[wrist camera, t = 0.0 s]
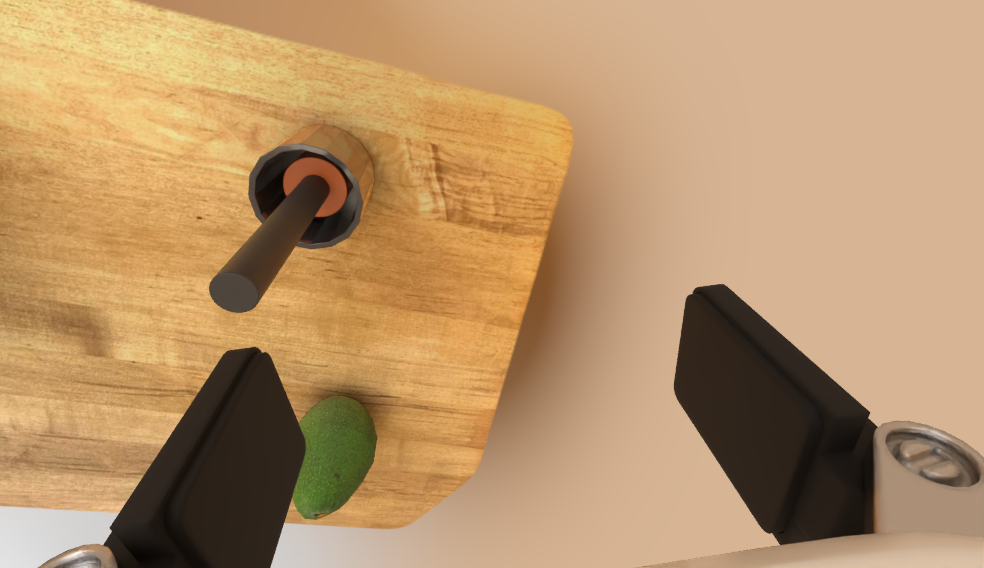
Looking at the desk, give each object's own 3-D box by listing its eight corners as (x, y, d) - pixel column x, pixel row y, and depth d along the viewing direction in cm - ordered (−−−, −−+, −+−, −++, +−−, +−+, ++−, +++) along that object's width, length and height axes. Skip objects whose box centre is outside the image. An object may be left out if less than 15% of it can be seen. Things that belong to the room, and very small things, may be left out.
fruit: (298, 427, 49) (261, 533, 39) (313, 372, 46) (276, 473, 35) (371, 440, 51) (354, 545, 41) (390, 388, 48) (377, 488, 37)
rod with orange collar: (290, 148, 35) (158, 254, 18) (348, 141, 35) (269, 240, 18) (307, 202, 37) (202, 341, 20) (361, 196, 37) (301, 328, 21)
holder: (267, 130, 34) (231, 151, 28) (363, 119, 35) (347, 137, 29) (296, 218, 38) (269, 254, 32) (382, 208, 38) (372, 241, 32)
